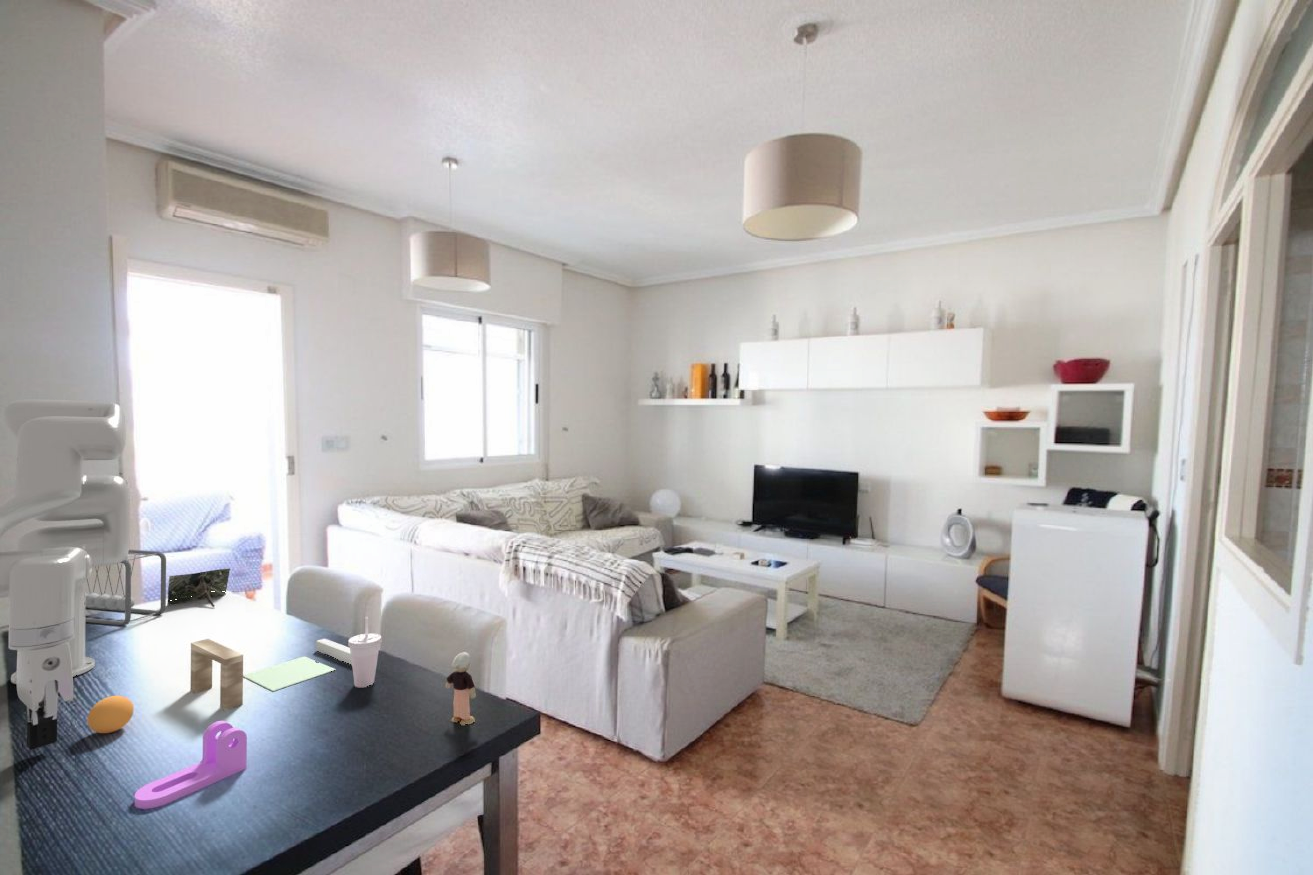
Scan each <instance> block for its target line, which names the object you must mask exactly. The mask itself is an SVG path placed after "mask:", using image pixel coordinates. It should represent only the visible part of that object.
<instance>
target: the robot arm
mask: <svg viewBox="0 0 1313 875" xmlns="http://www.w3.org/2000/svg"><path fill="white" fill-rule="evenodd" d="M2 418H3V421H4V425H5V427H6V429H7V430H8V432H9V433H10V435H11V436H12V437H13V439H14V441H15V442H16V444H17V447H16V466H15V480H14V492H13V495H12V496H11V497H10V498H9V499H6V500H5V501H4V502H3V503H2V504H1V505H0V539H1V538H2V537H3V536H4V534H6V533H7V532H8V531H9V530H10V529H12V528H14V527H16V526H18V525H19V524H21V523H24V522H26V521H27V520H30V519H33V520H35V521H38V522H39V521H40V522H65V521H83V520H84V521H85V520H99V521H101V522H97V523H96V522H95V523H80V524H77V523H75V524H62V525H48V526H42V527H37V528H33V529H30V530H28V531H26V532H24V533H22V534H21V535H20V536H19V538H18V539H17V542H16V547H15V549H16V550H13V551H12V550H11V551H1V552H0V599H3V598H8V649H9V650H11V651H17V653H16V671H15V672H13V673H12V674H11V675H10V676H11V677H10V682H11V683H12V684H14V685H16V691H17V696H18V699H19V700H20V701H21V702H22V703H23V704H24V705H25V706H26V718H27V723H26V747H27V748H28V749H29V750H36V749H38V748H39V749H40V748H42V747H46V746H48V745H51V744H54V743H56V742H57V739H58V701H59V698H61V699H62V700H63V701H64V702H66V703H69V702H71V701H72V700H73V699H74V680H73V677H74V678H75V677H77V676H79V675H83V674H85V673H87V672H88V671H90V670H92V669H93V668H94V667H95V664H96V660H95V659H94V658H92V657H90V656H89V657H87V656H86V622H85V618H86V613H87V612H86V609H87V608H86V594H87V593H86V588H85V585H84V583H85V582H86V581H87V579H88V578H89V577H90V576H91V575H92V569H93V568H94V567H96V568H97V567H98V566H99V567H104V566H106V565H107V566H110V565H117V563H118V564H121V563H120V562H122V561H124V560H125V559H126V558H127V557H128V556H129V554H128V552H129V550H130V541H131V538H130V537H131V534H130V532H131V531H130V529H131V528H130V526H131V525H130V520H131V519H130V518H131V516H130V515H131V514H130V512H131V511H130V510H131V508H130V506H131V502H130V500H131V498H130V491H129V486H128V484H127V481H126V480H125V479H124V478H123V477H120V476H117V475H114V474H113V475H112V474H100V475H99V474H98V475H97V474H96V475H93V474H92V475H91V474H90V475H86V474H84V461H112V460H116V459H119V458H120V457H121V456H122V454H123V453H124V450H125V446H126V440H127V439H126V438H127V434H126V418H125V413H124V410H123V409H122V407H121V406H120V405H119V404H117V403H114V402H109V401H97V400H96V401H94V400H93V401H91V400H67V399H45V398H44V399H43V398H42V399H41V398H40V399H39V398H38V399H37V398H36V399H34V398H33V399H29V398H27V399H20V400H19V399H17V400H13V401H11V402H8V403H7V404H6V405H5V406H4V407H3V411H2ZM76 675H77V676H76Z"/></svg>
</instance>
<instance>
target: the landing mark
mask: <svg viewBox="0 0 1313 875" xmlns="http://www.w3.org/2000/svg"><path fill="white" fill-rule="evenodd" d="M315 661H316V660H315V659H312V658H310V657H307V656H305V655H304V656H301V657H297V658H295V659H291V660H288V661H285V662H281V663H278V664H276V665H275V664H274V665H272V666H269V667H266V668H262V669H258V670H256V671H253V672H252V671H251V672H248V673H245V674H243V678H245V679H247V680H248V681H251V682H253V683H255V684H257V685H259V686H260V687H263V688H265V689H268V690H269V691H271V692H276V691H279V690H281V689H285V688H287V687H291V686H293V685H296V684H299V683H302V682H305V681H309V680H311V679H314V678H318V677H319V676H323V675H325V674H328V673H332V672H335V671H337V669H336V668H335V667H331V666H329V665H327V664H324V663H323V662H319V663H316V662H315ZM334 670H335V671H334ZM331 671H332V672H331Z"/></svg>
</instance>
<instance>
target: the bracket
mask: <svg viewBox="0 0 1313 875" xmlns="http://www.w3.org/2000/svg"><path fill="white" fill-rule="evenodd" d="M219 733H220V734H219ZM217 734H219V735H218V736H217ZM216 736H217V737H216ZM247 741H248V736H247V733H246V732H245V731H244V730H241V729H240V728H238V727H233V724H231V723H229V722H227V721H225V720H219V721H218V720H217V721H215V722H213V723H211V724H210V725H209V726H208V727H207V728H206V729H205V730H204V732H203V735H202V759H201V761H200V762H198V763H195V764H193V765H191V766H187V767H185V768H183V769H181V770H179V771H176V772H174V773H171V774H168V775H166V776H164V777H162V778H158V779H157V780H154V781H151V782H149V783H147V784H145V785H143V786H141V787H140V788H139V789H138V790H136V792H135V794H134V806H135V807H136V808H137V809H142V810H143V809H146V810H147V809H154V808H157V807H161V806H165V805H167V804H169V803H172V802H174V801H176V800H179V799H181V798H183V797H185V796H187V795H189V794H192V793H194V792H196V791H199V790H201V789H204V788H205V787H208V786H210V785H213V784H214V783H217V782H219V781H221V780H223V779H225V778H226V779H227V778H229V777H230V776H232V775H235V774H238V773H240V772H242V771H245V770H247V757H248V756H247V753H248V752H247V750H248V749H247V748H248V746H247V745H248V742H247Z"/></svg>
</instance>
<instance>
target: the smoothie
mask: <svg viewBox="0 0 1313 875" xmlns="http://www.w3.org/2000/svg"><path fill="white" fill-rule="evenodd" d="M364 621H365V624H364V628H365V629H364V630H365V632H364V633H362V634H361V633H360V634H357V635H354V636H352V637H350V638H349V639H348V640H347V642H348V644H347V647H349V648H350V652H351V660H352V665H351V667H352V674H353V684H354V687H355V688H359V689H360V688H367V686H368V687H370V686H369V685H371V686H372V685H373V683H374V684H375V680H376V679H375V678H376V672H377V665H378V658H379V651H380V644H381V643H382V636H381V634H379V633H374V632H373V633H372V632H371V633H369V616H365V620H364Z"/></svg>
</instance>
